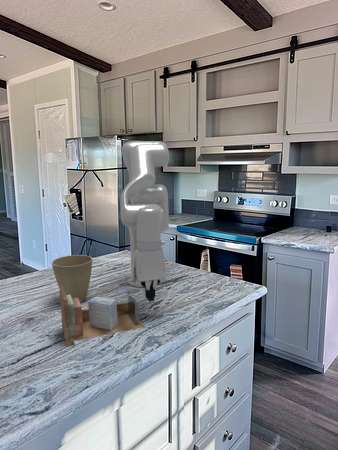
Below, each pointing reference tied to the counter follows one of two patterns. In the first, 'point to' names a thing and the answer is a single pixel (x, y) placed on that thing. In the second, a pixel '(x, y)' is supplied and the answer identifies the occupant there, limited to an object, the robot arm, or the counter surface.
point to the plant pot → (73, 274)
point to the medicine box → (102, 313)
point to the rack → (79, 320)
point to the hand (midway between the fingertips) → (150, 299)
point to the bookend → (133, 310)
